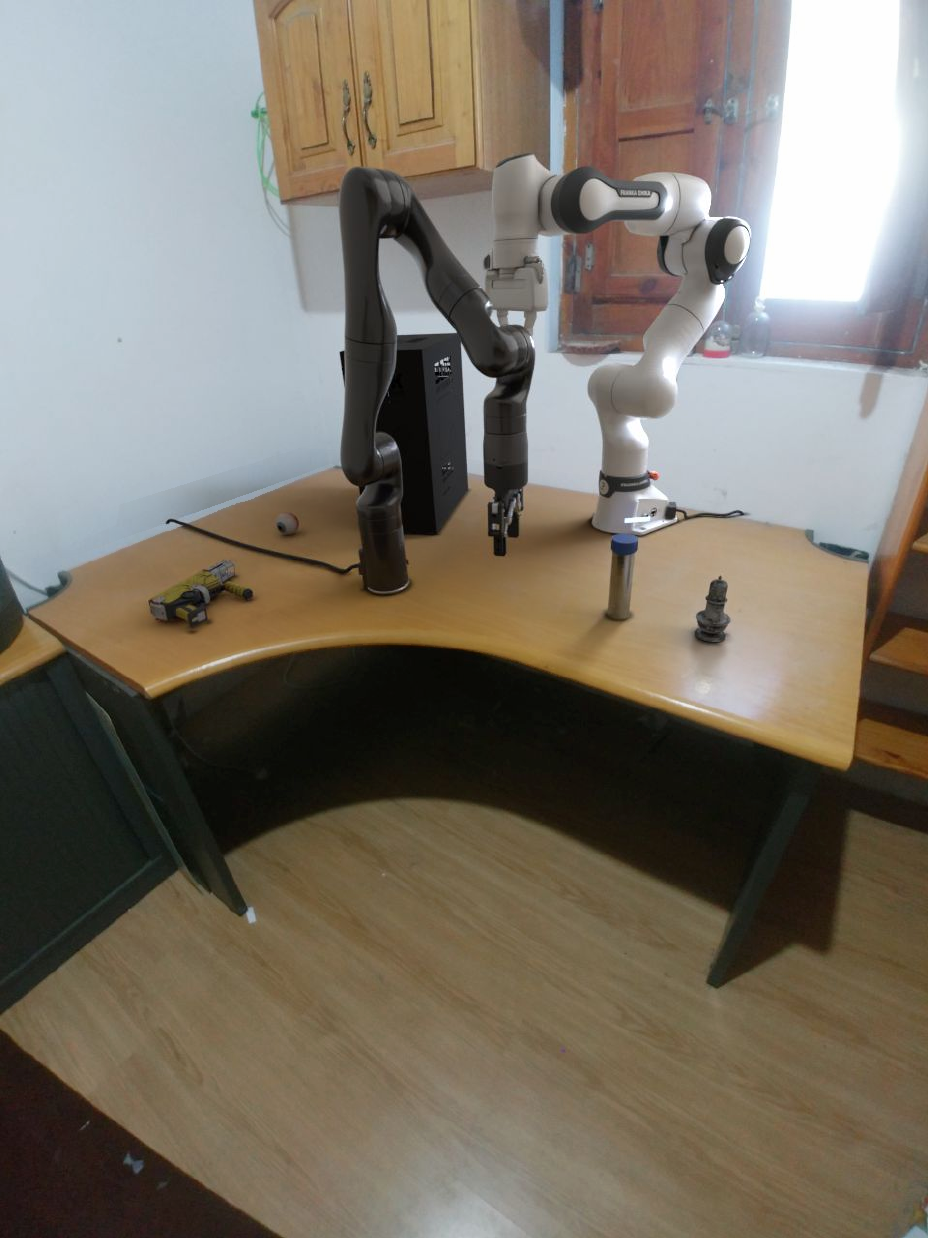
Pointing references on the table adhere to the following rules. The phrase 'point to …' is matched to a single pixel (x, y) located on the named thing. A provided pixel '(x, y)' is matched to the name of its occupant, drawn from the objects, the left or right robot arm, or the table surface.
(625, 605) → the jar
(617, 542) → the lid
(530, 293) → the right robot arm
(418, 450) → the cardboard box
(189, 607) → the toy gun
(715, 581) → the grey stone tiered figure
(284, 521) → the eyeball
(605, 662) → the table surface
